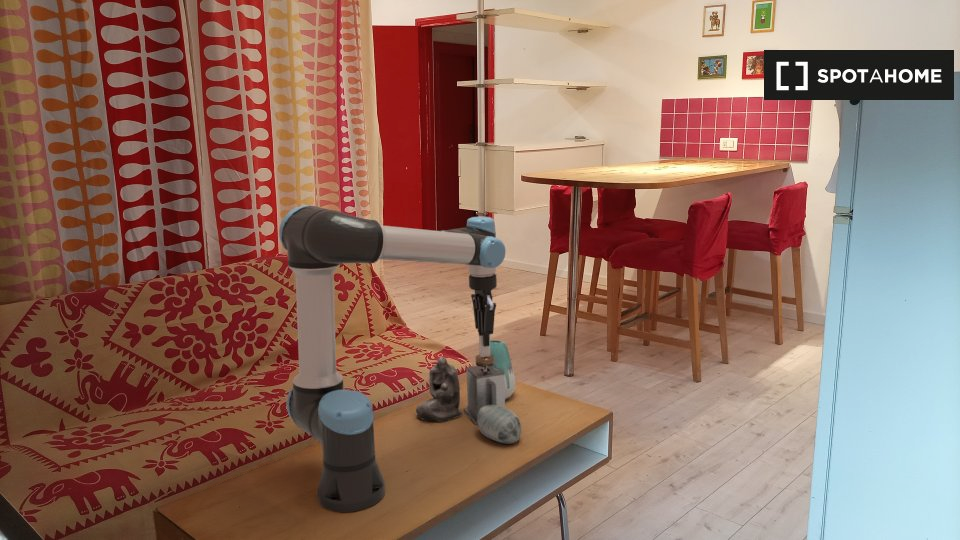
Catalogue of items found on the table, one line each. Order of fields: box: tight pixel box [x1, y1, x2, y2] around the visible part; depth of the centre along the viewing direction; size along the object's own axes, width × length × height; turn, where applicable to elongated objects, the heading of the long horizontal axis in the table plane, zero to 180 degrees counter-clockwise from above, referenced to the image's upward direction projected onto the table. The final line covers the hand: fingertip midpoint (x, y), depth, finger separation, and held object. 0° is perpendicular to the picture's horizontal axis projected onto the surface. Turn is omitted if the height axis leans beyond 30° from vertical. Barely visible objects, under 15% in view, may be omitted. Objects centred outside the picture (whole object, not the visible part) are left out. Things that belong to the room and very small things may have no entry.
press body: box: [463, 364, 506, 426], centre depth 203 cm, size 10×12×14 cm
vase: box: [490, 339, 516, 400], centre depth 217 cm, size 12×12×18 cm
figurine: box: [415, 356, 463, 423], centre depth 205 cm, size 13×12×18 cm
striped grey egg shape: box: [477, 405, 522, 445], centre depth 191 cm, size 14×10×10 cm
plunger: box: [475, 354, 494, 372], centre depth 203 cm, size 6×6×13 cm
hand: (484, 356), depth 202 cm, fingers closed
